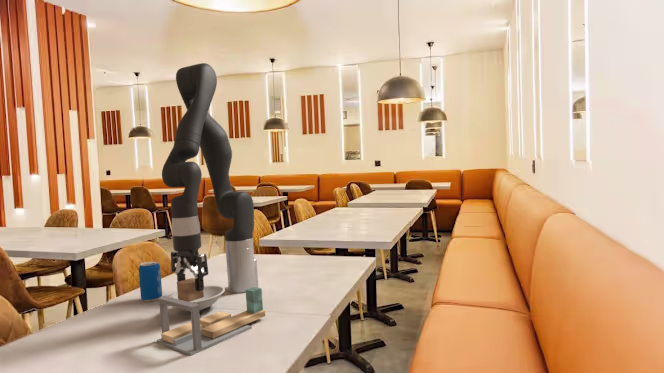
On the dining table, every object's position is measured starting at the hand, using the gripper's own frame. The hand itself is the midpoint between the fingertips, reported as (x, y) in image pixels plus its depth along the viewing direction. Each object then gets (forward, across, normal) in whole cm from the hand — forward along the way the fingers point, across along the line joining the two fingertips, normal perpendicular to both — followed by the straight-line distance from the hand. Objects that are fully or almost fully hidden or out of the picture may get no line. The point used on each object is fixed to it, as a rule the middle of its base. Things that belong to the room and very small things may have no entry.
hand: (190, 288), depth 123 cm
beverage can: (+8, +26, -2) cm, 27 cm away
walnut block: (+3, 0, 0) cm, 3 cm away
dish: (+8, +2, -4) cm, 9 cm away
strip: (+8, -19, +1) cm, 21 cm away
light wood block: (+8, -13, +2) cm, 15 cm away
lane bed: (+8, -16, +8) cm, 19 cm away
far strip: (+8, -13, +12) cm, 19 cm away
